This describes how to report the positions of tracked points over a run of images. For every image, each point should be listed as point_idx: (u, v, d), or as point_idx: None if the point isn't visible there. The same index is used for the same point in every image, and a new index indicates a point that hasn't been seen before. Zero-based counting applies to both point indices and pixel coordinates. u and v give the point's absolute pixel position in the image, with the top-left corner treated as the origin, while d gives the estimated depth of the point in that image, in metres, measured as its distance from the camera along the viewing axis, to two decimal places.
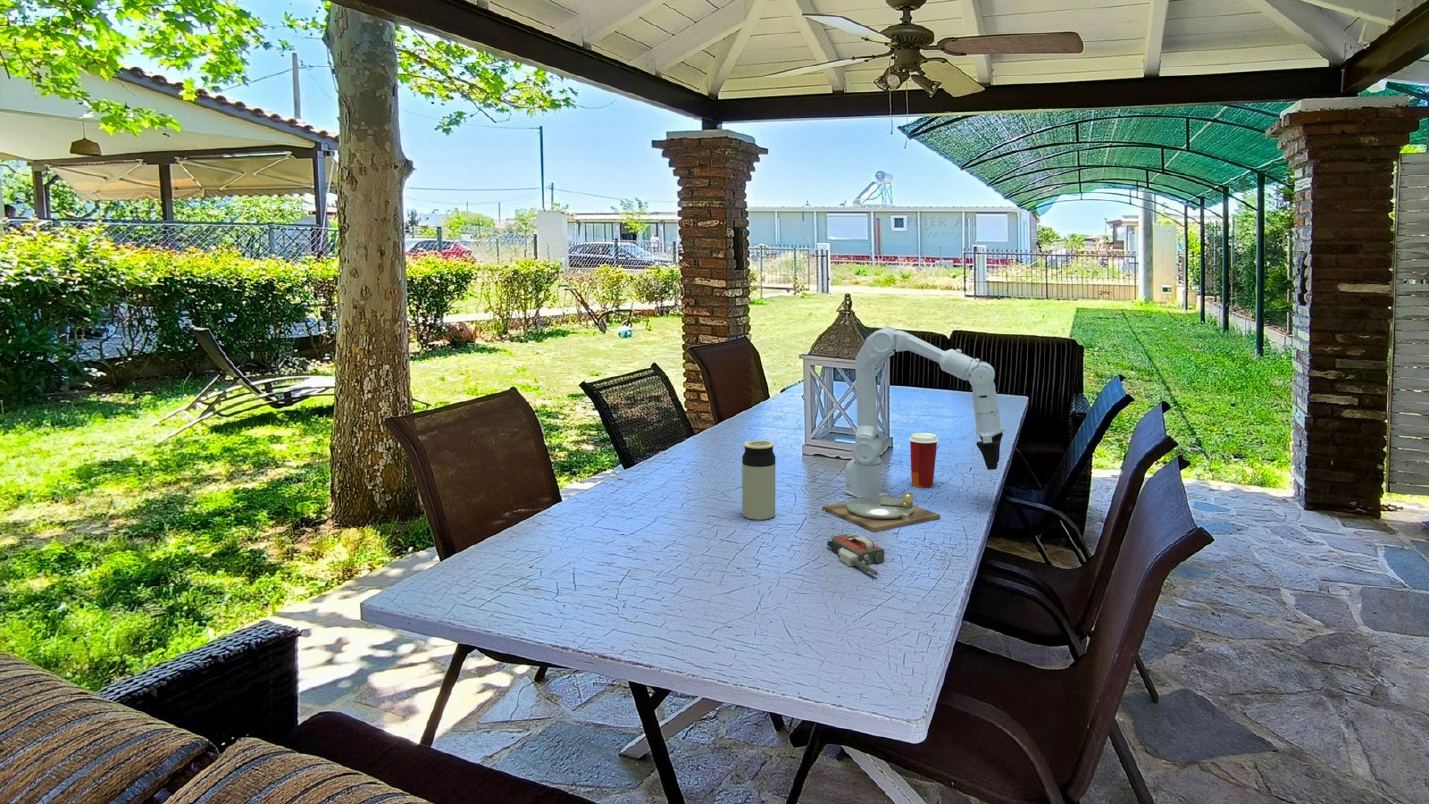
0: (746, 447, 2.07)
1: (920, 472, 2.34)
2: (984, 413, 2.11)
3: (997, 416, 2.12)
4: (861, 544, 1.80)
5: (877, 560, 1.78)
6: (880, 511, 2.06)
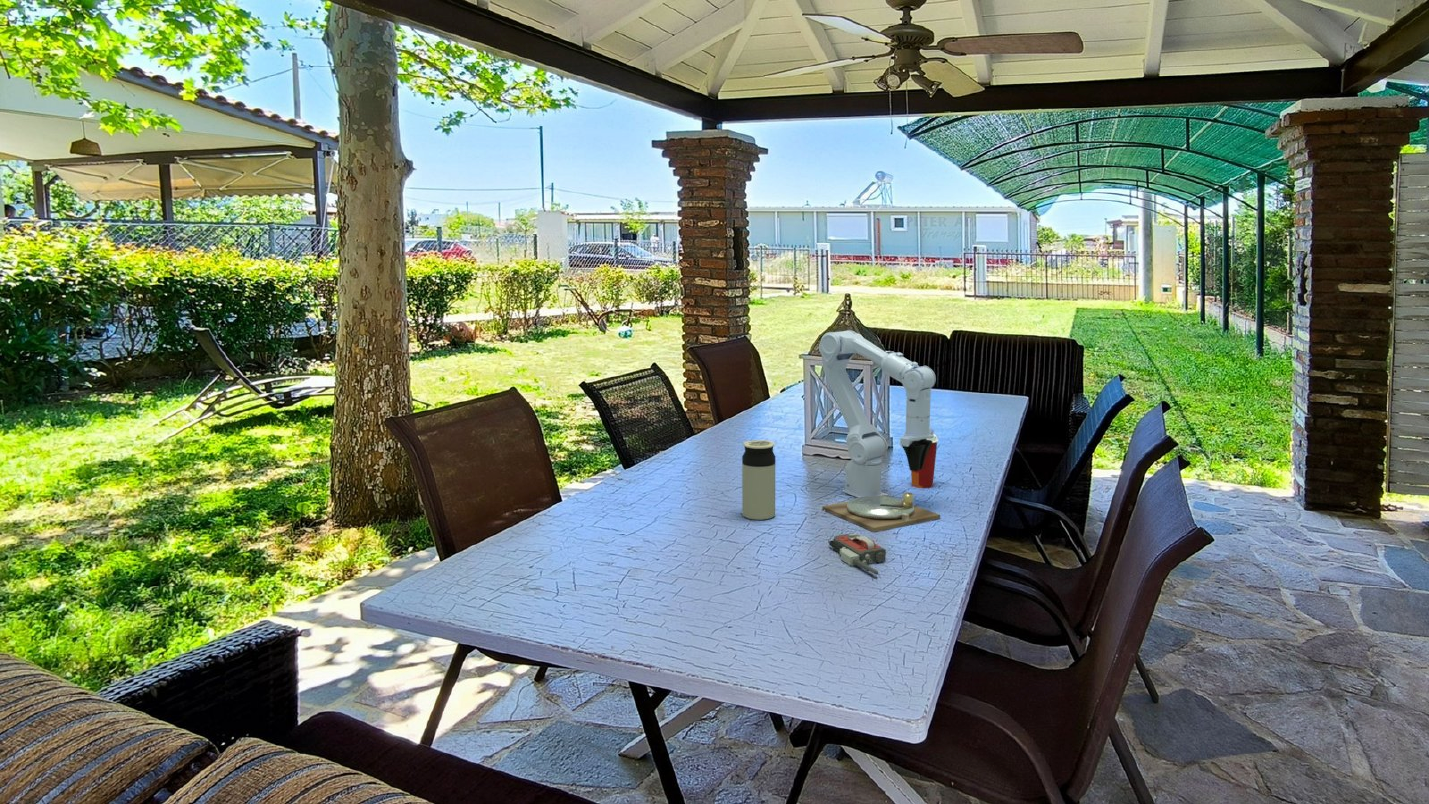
0: (746, 447, 2.07)
1: (920, 472, 2.34)
2: (911, 417, 2.12)
3: (924, 422, 2.12)
4: (862, 544, 1.80)
5: (878, 560, 1.78)
6: (880, 511, 2.06)
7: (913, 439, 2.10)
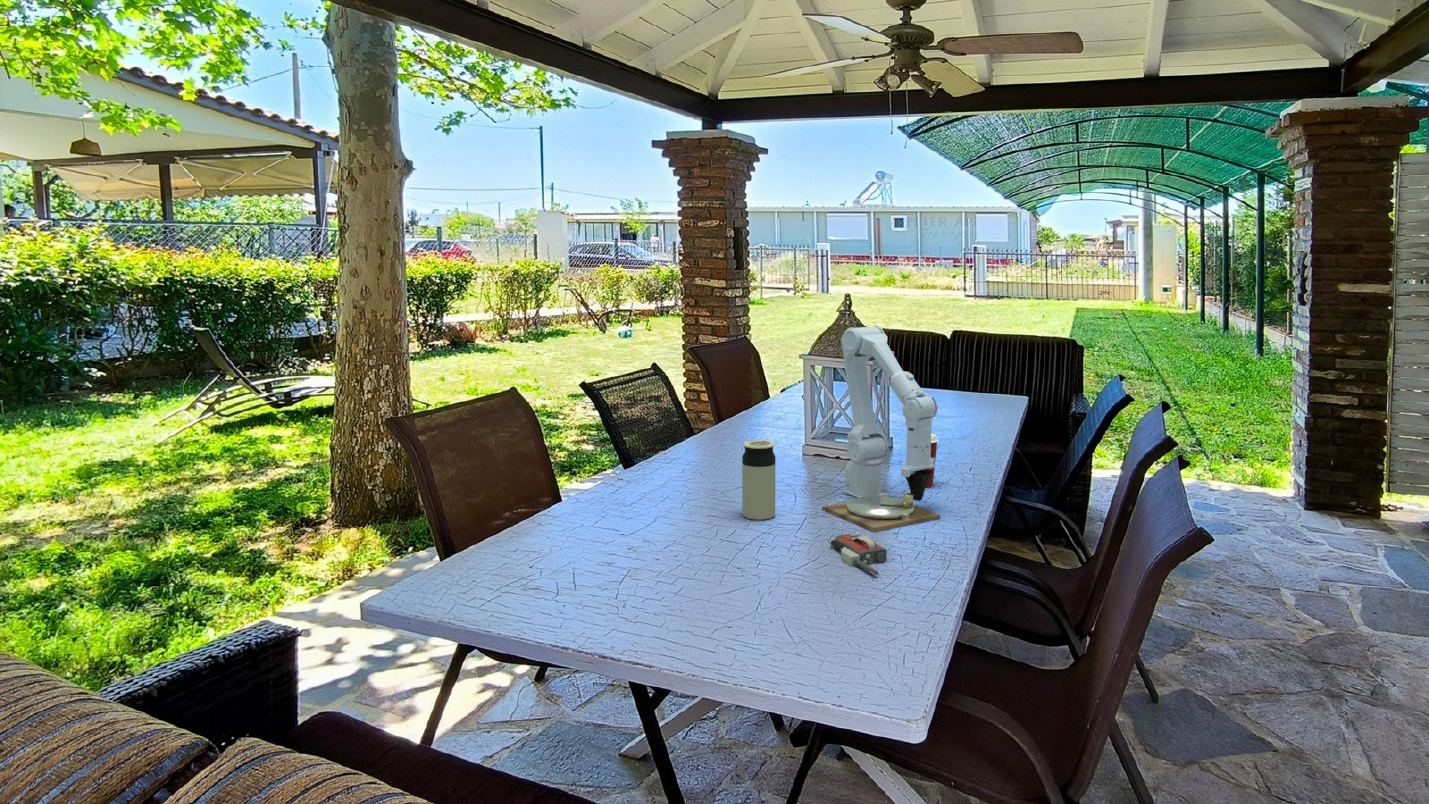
0: (746, 447, 2.07)
1: None
2: (912, 446, 2.09)
3: (925, 452, 2.08)
4: (863, 544, 1.80)
5: (879, 560, 1.79)
6: (880, 511, 2.06)
7: (914, 469, 2.07)
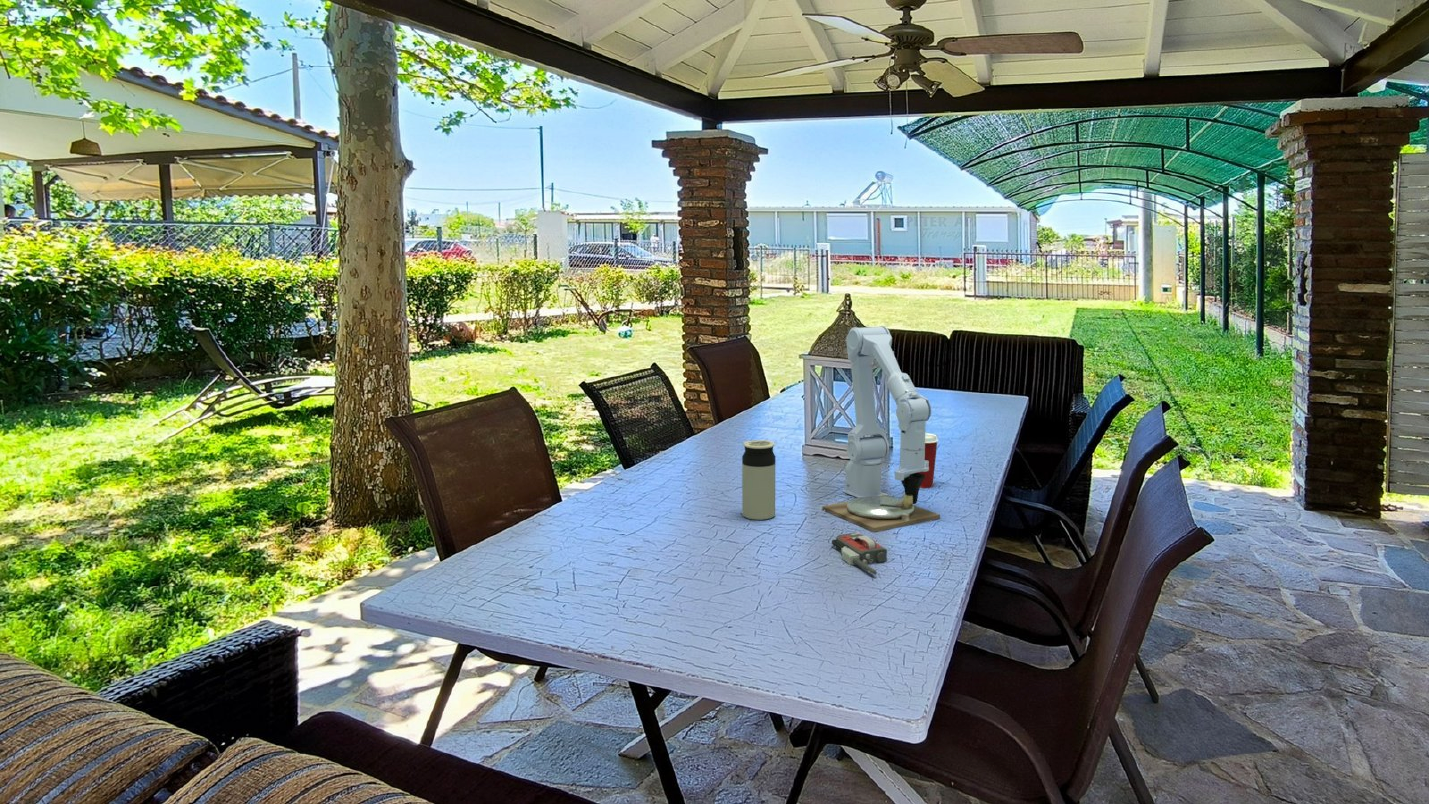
0: (746, 447, 2.07)
1: (920, 472, 2.34)
2: (906, 449, 2.06)
3: (919, 454, 2.05)
4: (863, 543, 1.80)
5: (879, 560, 1.79)
6: (878, 511, 2.06)
7: (908, 473, 2.04)
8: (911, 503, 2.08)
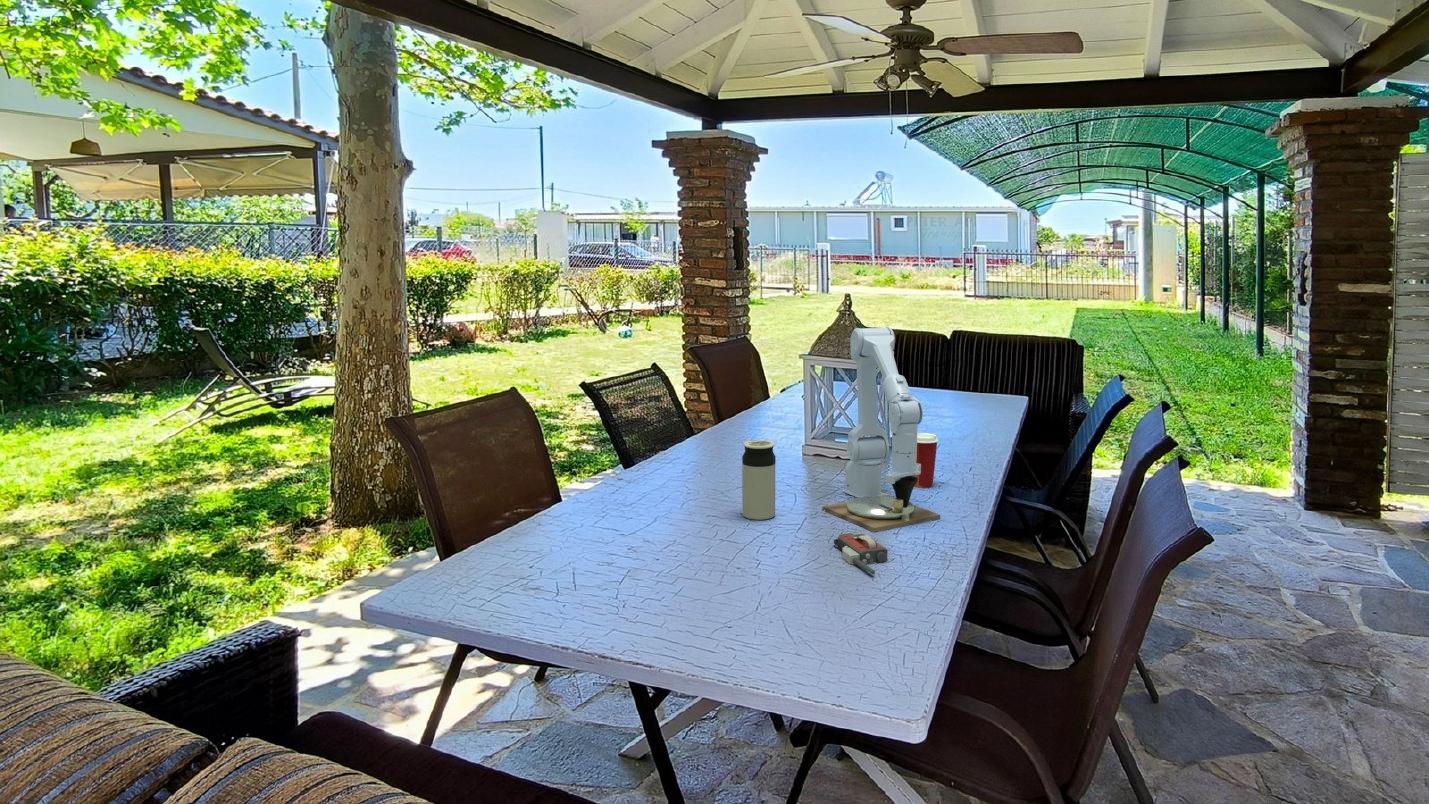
0: (746, 447, 2.07)
1: None
2: (897, 452, 2.03)
3: (911, 458, 2.02)
4: (864, 543, 1.81)
5: (879, 559, 1.79)
6: (864, 508, 2.08)
7: (899, 476, 2.01)
8: (898, 508, 2.04)
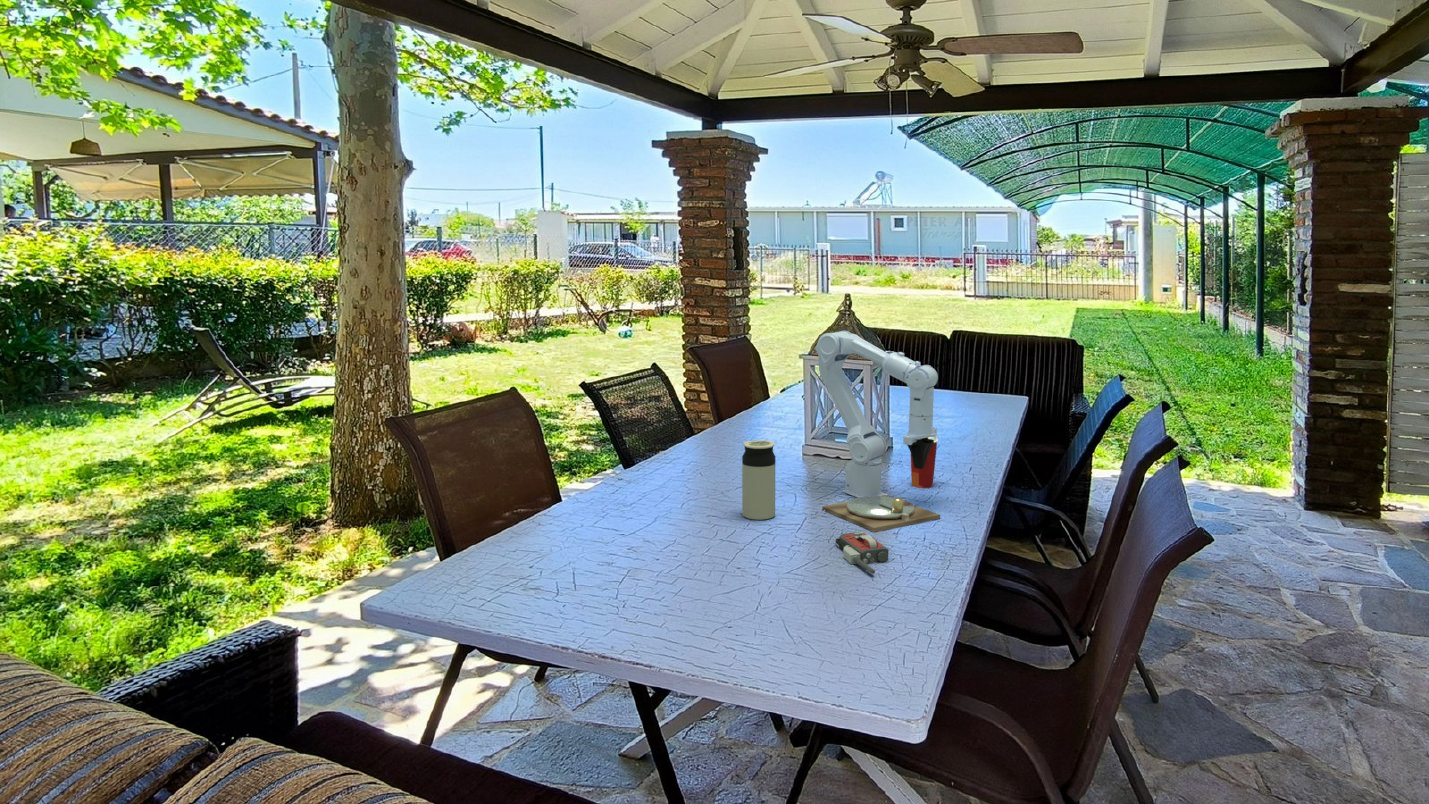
0: (746, 447, 2.07)
1: (920, 472, 2.34)
2: (914, 415, 2.14)
3: (927, 420, 2.14)
4: (865, 542, 1.81)
5: (880, 559, 1.79)
6: (864, 508, 2.08)
7: (916, 438, 2.12)
8: (898, 508, 2.04)
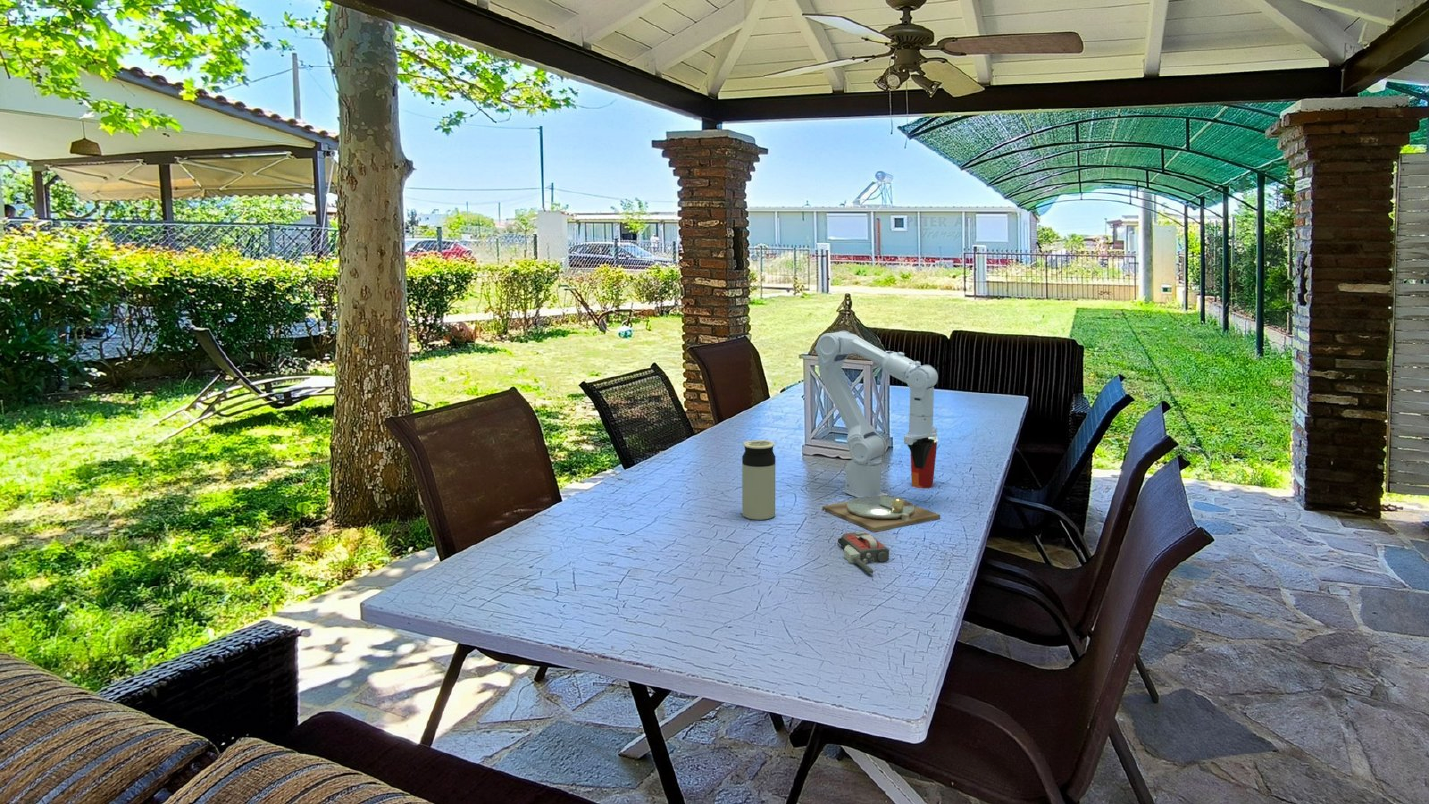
0: (746, 447, 2.07)
1: (920, 472, 2.34)
2: (915, 415, 2.14)
3: (927, 420, 2.14)
4: (866, 542, 1.81)
5: (880, 559, 1.79)
6: (864, 508, 2.08)
7: (916, 437, 2.12)
8: (898, 508, 2.04)
